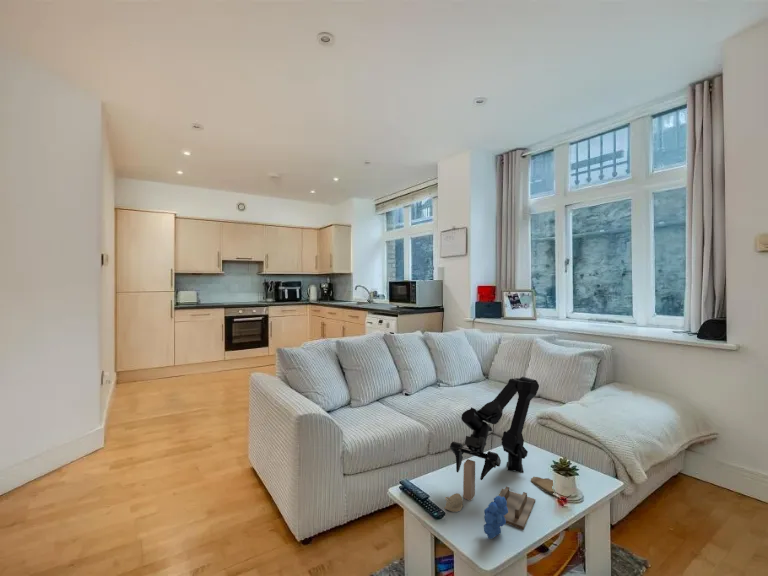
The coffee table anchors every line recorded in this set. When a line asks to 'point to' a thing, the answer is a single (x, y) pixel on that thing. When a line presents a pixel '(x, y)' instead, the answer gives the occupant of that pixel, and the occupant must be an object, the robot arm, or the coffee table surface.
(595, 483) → the coffee table surface
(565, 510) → the coffee table surface
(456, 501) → the decorative ornament
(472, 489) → the brown rectangular box
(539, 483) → the pottery shard
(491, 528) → the grapes
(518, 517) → the walnut rack
